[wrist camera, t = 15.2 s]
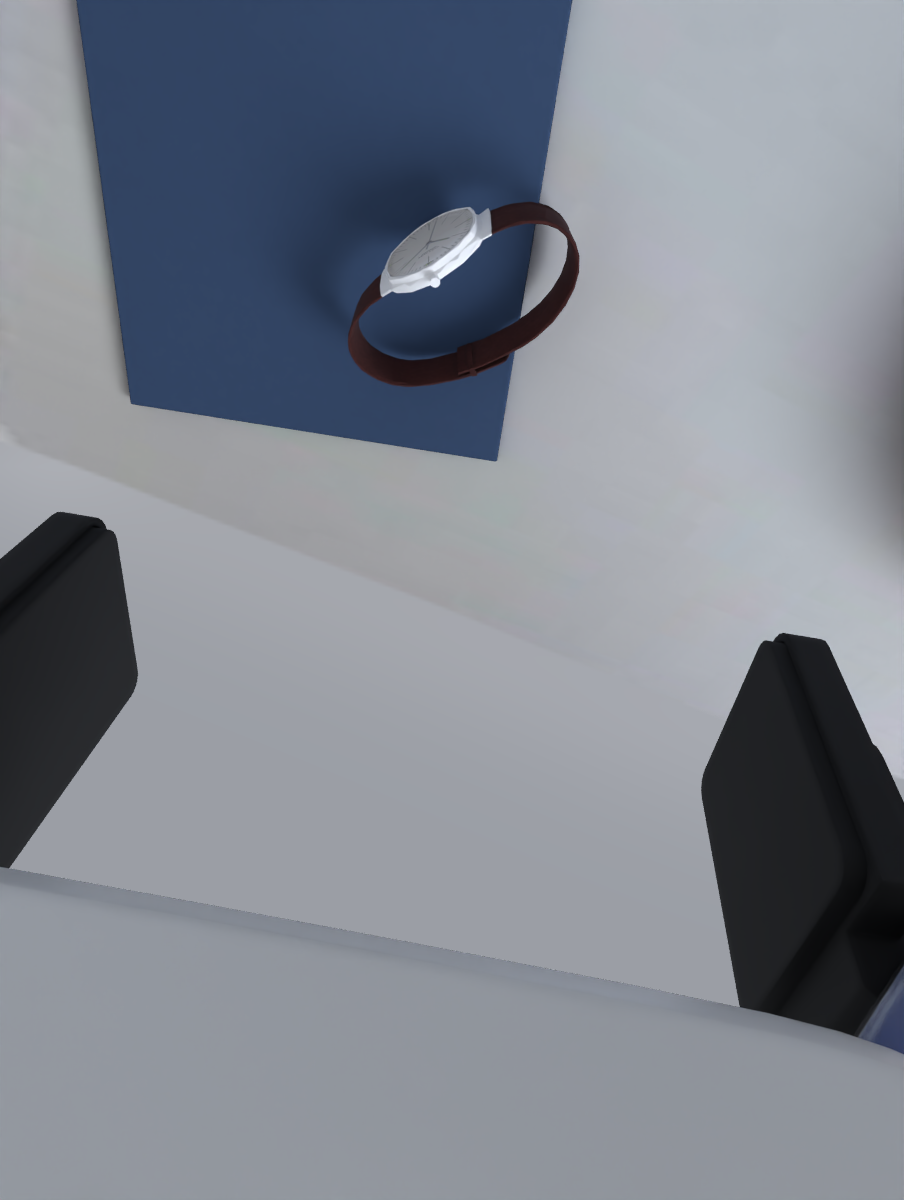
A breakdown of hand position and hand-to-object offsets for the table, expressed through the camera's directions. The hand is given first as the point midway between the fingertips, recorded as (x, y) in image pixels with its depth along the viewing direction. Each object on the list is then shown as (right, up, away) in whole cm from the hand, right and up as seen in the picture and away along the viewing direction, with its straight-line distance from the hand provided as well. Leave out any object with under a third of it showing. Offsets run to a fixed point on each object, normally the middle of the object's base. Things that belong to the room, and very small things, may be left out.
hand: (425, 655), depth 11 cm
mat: (-4, +15, +13) cm, 20 cm away
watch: (+1, +11, +14) cm, 18 cm away
